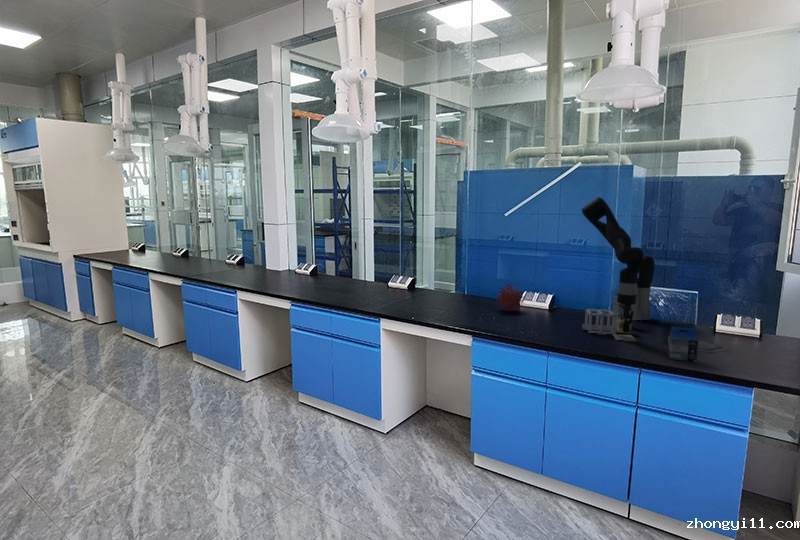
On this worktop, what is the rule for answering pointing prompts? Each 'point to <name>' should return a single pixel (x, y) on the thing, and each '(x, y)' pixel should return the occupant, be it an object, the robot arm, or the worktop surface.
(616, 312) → the syrup box
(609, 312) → the gray angular frame
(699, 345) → the security device
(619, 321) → the beech block
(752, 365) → the worktop surface
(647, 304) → the robot arm
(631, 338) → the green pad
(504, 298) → the virus model
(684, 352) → the label tape box
